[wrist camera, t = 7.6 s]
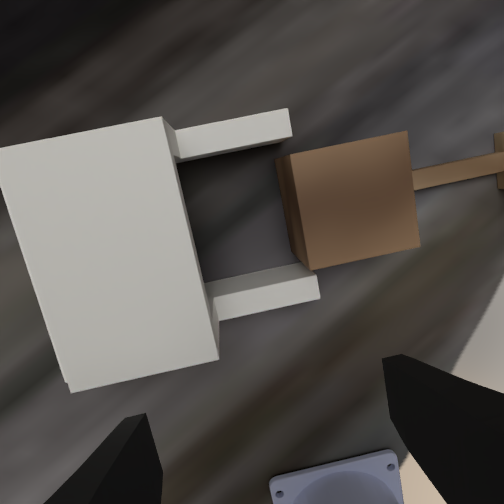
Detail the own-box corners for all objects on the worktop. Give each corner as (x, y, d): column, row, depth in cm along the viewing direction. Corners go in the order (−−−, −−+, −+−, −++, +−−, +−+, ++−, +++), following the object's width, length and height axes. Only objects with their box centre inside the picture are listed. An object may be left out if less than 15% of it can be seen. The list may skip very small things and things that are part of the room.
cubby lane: (306, 282, 22) (347, 330, 15) (107, 325, 21) (54, 396, 14) (277, 118, 20) (308, 87, 13) (59, 161, 19) (-28, 153, 13)
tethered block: (549, 195, 22) (656, 201, 17) (291, 251, 21) (315, 276, 16) (545, 103, 21) (658, 78, 16) (274, 159, 20) (294, 153, 15)
